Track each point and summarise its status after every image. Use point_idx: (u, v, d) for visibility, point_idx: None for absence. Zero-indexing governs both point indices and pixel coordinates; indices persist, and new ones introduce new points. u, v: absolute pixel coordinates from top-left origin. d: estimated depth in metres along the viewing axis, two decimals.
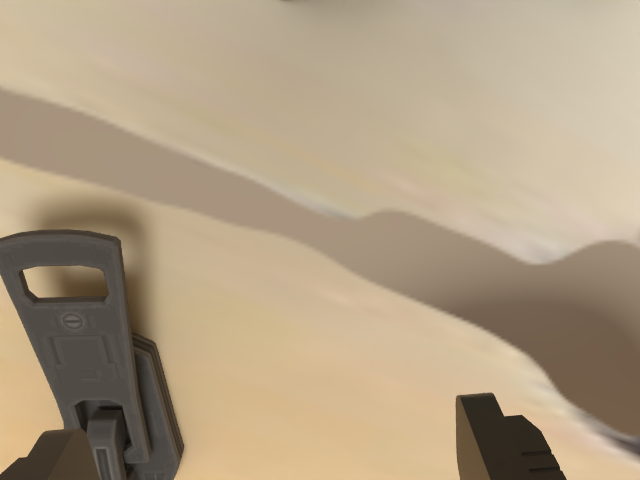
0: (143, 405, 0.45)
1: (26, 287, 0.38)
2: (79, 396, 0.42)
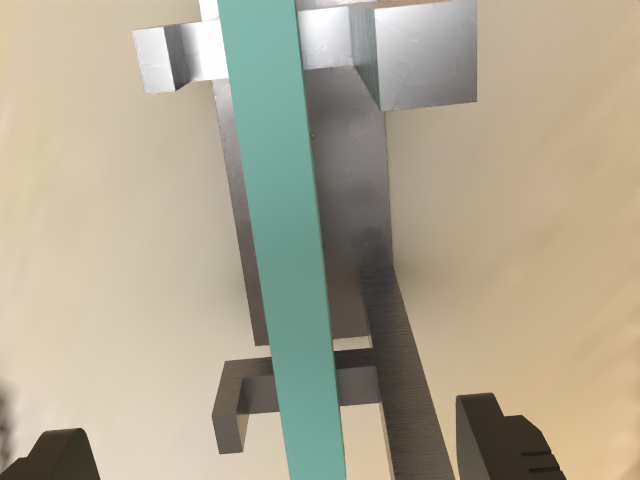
0: None
1: None
2: None
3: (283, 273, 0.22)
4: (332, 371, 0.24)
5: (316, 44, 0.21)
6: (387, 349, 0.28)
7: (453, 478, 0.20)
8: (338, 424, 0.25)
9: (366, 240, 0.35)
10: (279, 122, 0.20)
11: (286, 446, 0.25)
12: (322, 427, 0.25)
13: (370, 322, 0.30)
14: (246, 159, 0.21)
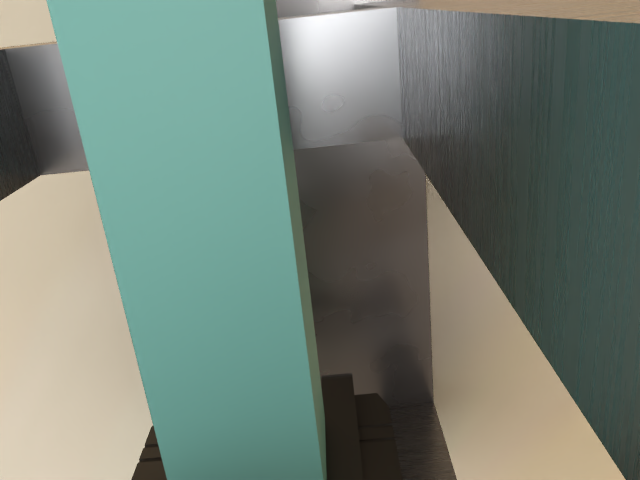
0: None
1: None
2: None
3: None
4: None
5: (321, 94, 0.09)
6: None
7: None
8: None
9: (393, 362, 0.23)
10: (232, 299, 0.08)
11: None
12: None
13: None
14: (153, 377, 0.08)
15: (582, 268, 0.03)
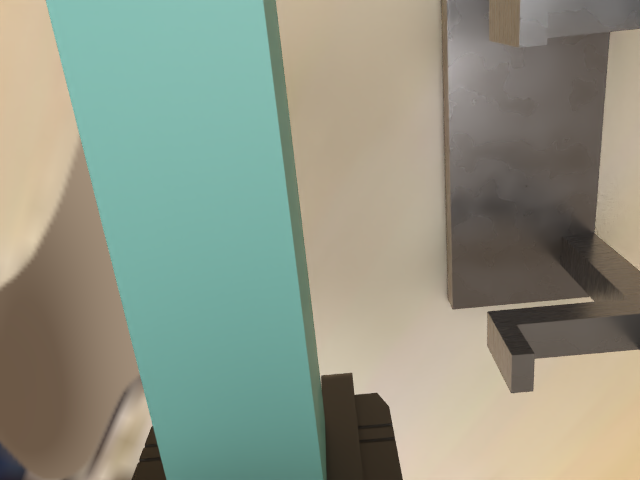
0: None
1: None
2: None
3: None
4: None
5: None
6: None
7: None
8: None
9: (572, 206, 0.37)
10: (231, 300, 0.08)
11: None
12: None
13: (608, 278, 0.32)
14: (153, 379, 0.08)
15: None
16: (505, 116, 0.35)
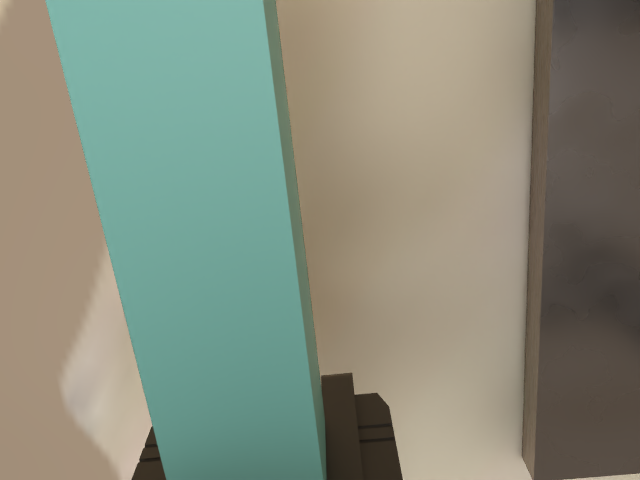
0: None
1: None
2: None
3: None
4: None
5: None
6: None
7: None
8: None
9: None
10: (231, 300, 0.08)
11: None
12: None
13: None
14: (152, 379, 0.08)
15: None
16: None
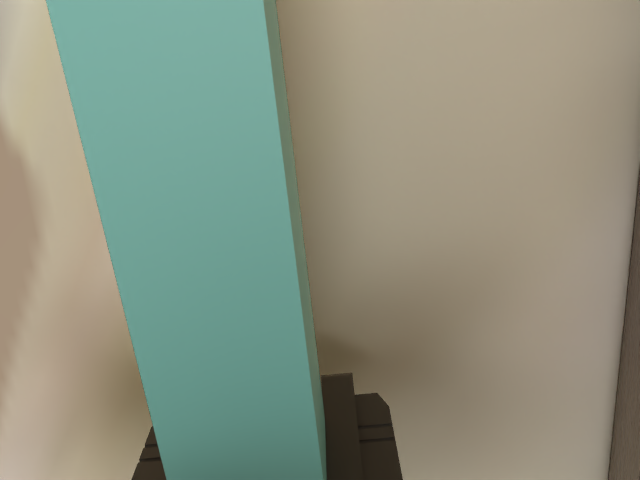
0: None
1: None
2: None
3: None
4: None
5: None
6: None
7: None
8: None
9: None
10: (232, 300, 0.08)
11: None
12: None
13: None
14: (153, 379, 0.08)
15: None
16: None
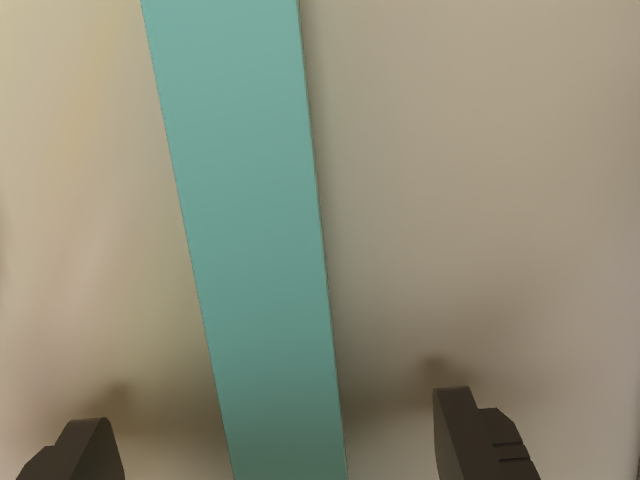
0: None
1: None
2: None
3: (276, 470, 0.13)
4: None
5: None
6: None
7: None
8: None
9: None
10: (268, 224, 0.11)
11: None
12: None
13: None
14: (206, 288, 0.11)
15: None
16: None
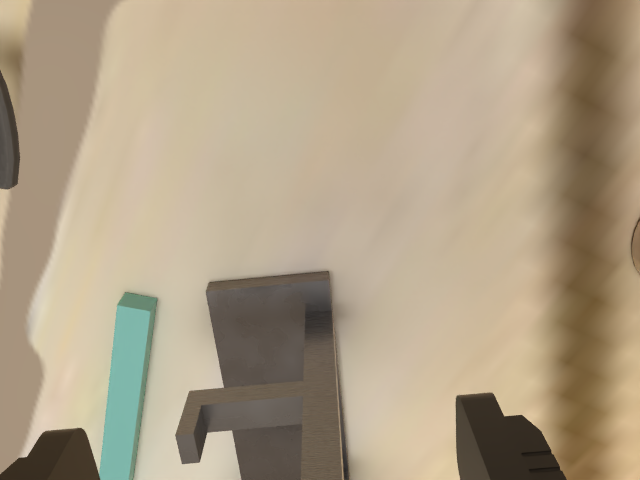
0: None
1: None
2: None
3: (115, 432, 0.47)
4: (128, 478, 0.49)
5: (284, 414, 0.35)
6: None
7: None
8: None
9: None
10: (129, 376, 0.45)
11: None
12: None
13: None
14: (111, 385, 0.46)
15: None
16: None
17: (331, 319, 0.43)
